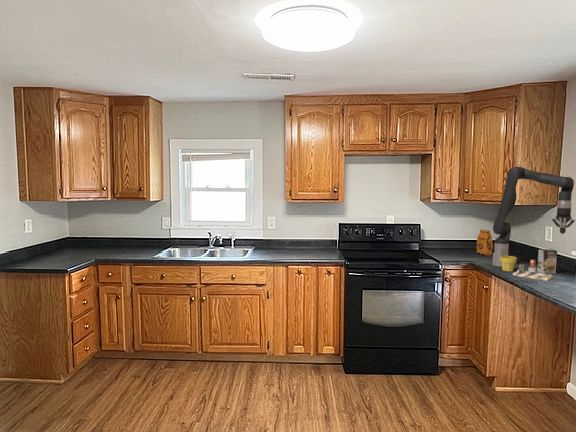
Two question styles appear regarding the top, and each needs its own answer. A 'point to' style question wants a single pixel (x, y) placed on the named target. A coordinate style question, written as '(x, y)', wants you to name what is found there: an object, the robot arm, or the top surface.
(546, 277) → the beige wooden board
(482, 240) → the coffee package
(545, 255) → the coffee box
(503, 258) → the plant pot
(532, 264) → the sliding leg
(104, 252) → the top surface
